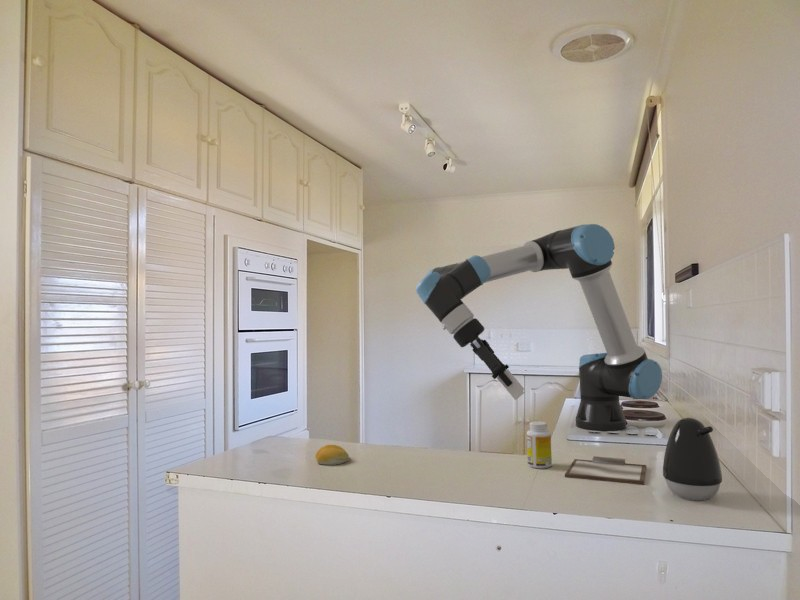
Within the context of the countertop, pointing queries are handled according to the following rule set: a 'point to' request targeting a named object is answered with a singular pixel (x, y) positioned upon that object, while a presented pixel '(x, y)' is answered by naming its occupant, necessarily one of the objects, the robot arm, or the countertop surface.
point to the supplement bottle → (539, 446)
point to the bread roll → (331, 455)
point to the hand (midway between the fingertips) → (520, 394)
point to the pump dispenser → (692, 461)
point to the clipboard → (607, 470)
